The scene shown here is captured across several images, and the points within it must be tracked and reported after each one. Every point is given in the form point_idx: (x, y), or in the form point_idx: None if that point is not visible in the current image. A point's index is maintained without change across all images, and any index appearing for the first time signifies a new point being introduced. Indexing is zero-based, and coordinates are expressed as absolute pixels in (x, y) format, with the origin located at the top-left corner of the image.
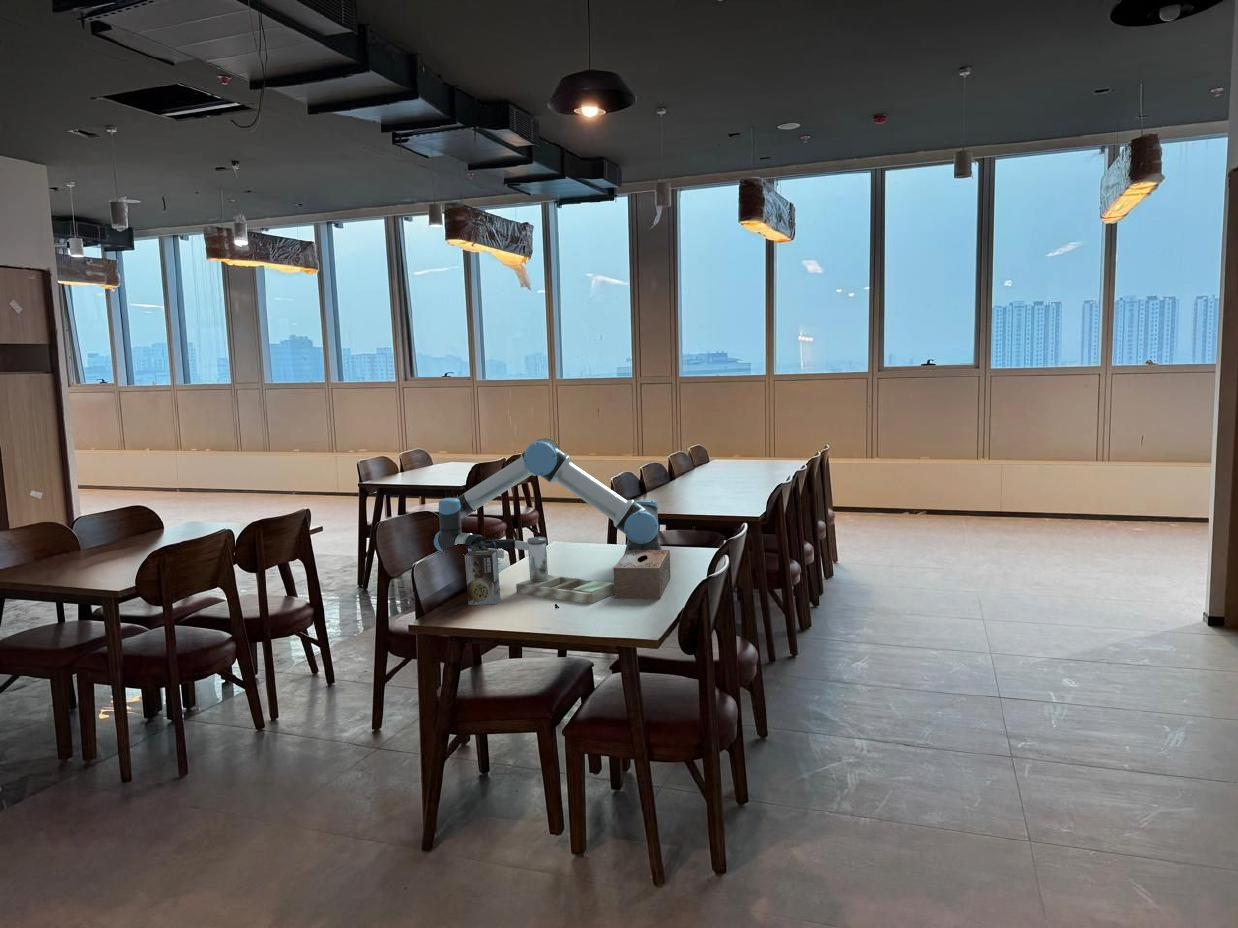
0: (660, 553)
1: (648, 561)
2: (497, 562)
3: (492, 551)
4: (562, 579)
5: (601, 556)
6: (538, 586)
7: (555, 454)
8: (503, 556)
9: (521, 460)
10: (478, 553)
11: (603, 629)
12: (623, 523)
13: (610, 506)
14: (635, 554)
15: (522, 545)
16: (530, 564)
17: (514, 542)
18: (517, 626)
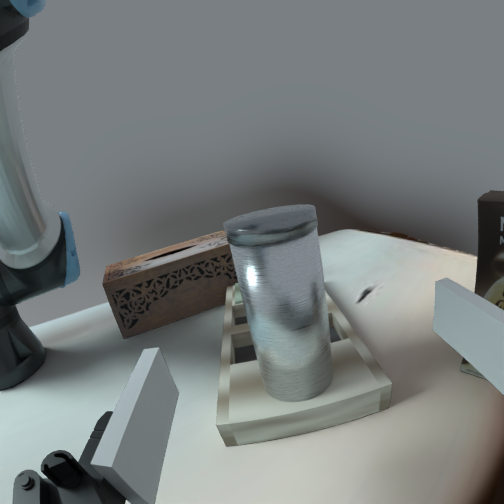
0: (130, 260)
1: (188, 244)
2: (478, 247)
3: (491, 194)
4: (231, 363)
5: None
6: (349, 331)
7: None
8: (437, 318)
9: None
10: None
11: (367, 241)
12: (61, 238)
13: (42, 198)
14: (140, 266)
15: (153, 417)
16: (327, 317)
17: (96, 498)
18: (455, 259)
